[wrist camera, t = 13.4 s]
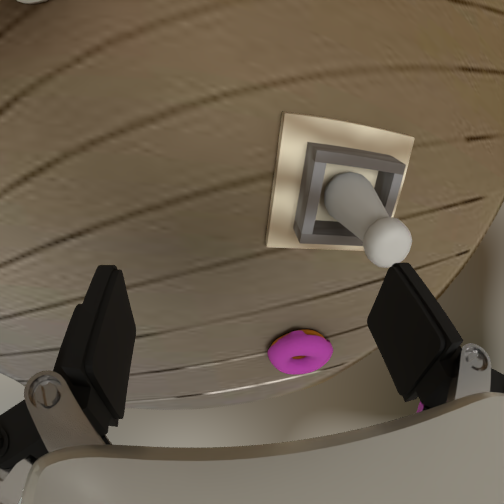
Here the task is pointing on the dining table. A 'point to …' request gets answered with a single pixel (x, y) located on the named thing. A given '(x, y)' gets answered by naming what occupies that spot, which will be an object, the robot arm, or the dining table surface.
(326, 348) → the donut
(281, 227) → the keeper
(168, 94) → the dining table surface
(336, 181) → the salt shaker
